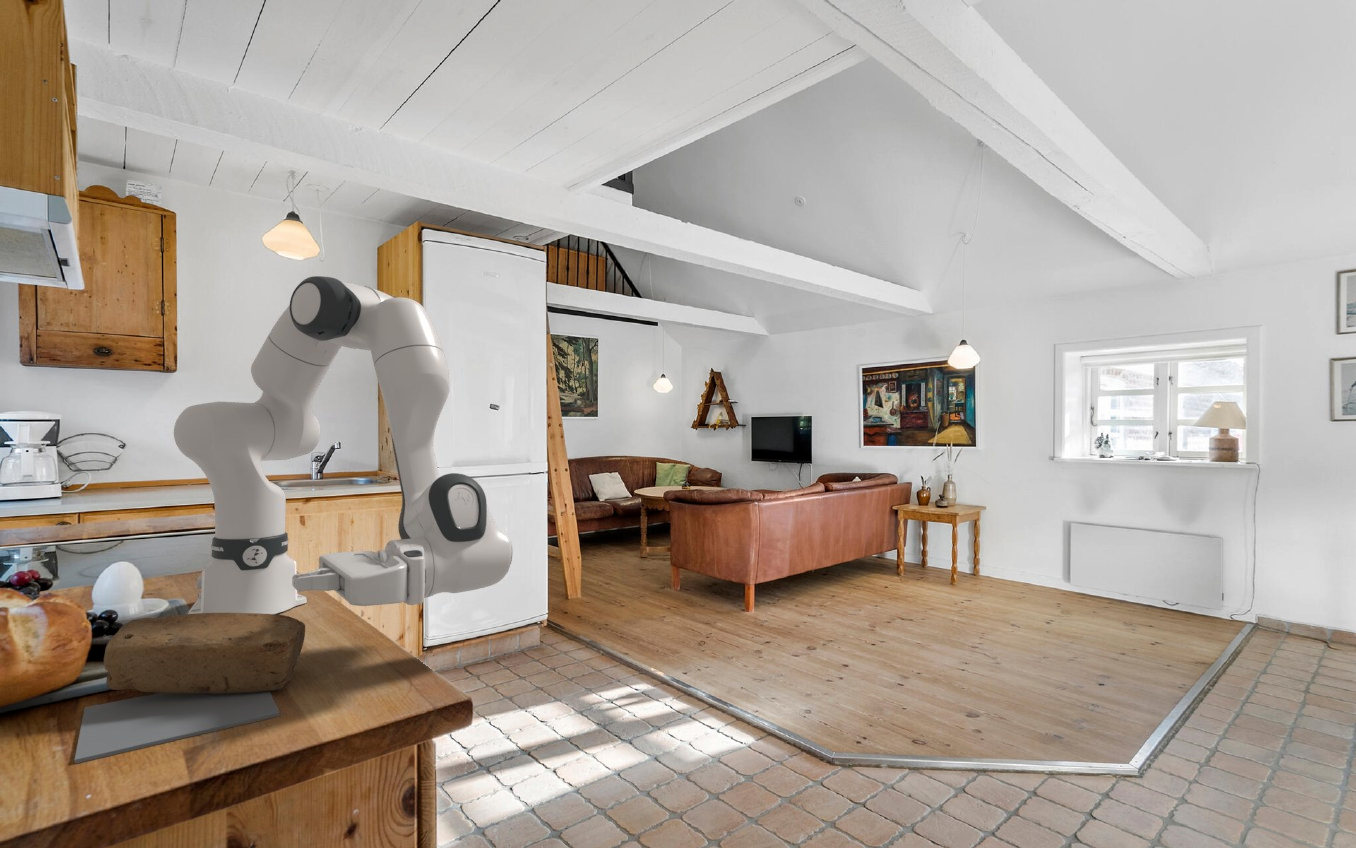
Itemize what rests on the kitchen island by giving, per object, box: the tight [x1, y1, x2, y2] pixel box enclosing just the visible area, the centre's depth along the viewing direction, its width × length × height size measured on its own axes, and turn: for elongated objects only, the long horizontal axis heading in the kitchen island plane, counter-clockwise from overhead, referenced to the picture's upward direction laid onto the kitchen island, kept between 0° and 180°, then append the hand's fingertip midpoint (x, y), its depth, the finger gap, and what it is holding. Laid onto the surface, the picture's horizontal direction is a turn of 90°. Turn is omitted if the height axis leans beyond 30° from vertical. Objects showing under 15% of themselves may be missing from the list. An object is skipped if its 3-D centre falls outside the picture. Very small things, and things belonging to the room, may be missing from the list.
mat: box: [73, 691, 281, 765], centre depth 78 cm, size 16×18×1 cm
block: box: [103, 613, 306, 694], centre depth 85 cm, size 11×8×20 cm
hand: (294, 583), depth 85 cm, fingers closed
